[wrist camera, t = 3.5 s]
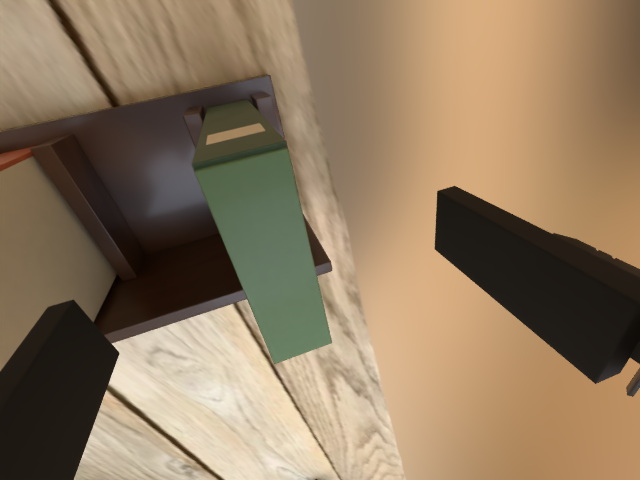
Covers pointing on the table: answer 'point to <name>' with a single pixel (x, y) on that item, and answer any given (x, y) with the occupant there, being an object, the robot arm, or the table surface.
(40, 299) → the cream book
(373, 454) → the table surface
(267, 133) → the green book
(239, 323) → the table surface
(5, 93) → the table surface
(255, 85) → the book rack
